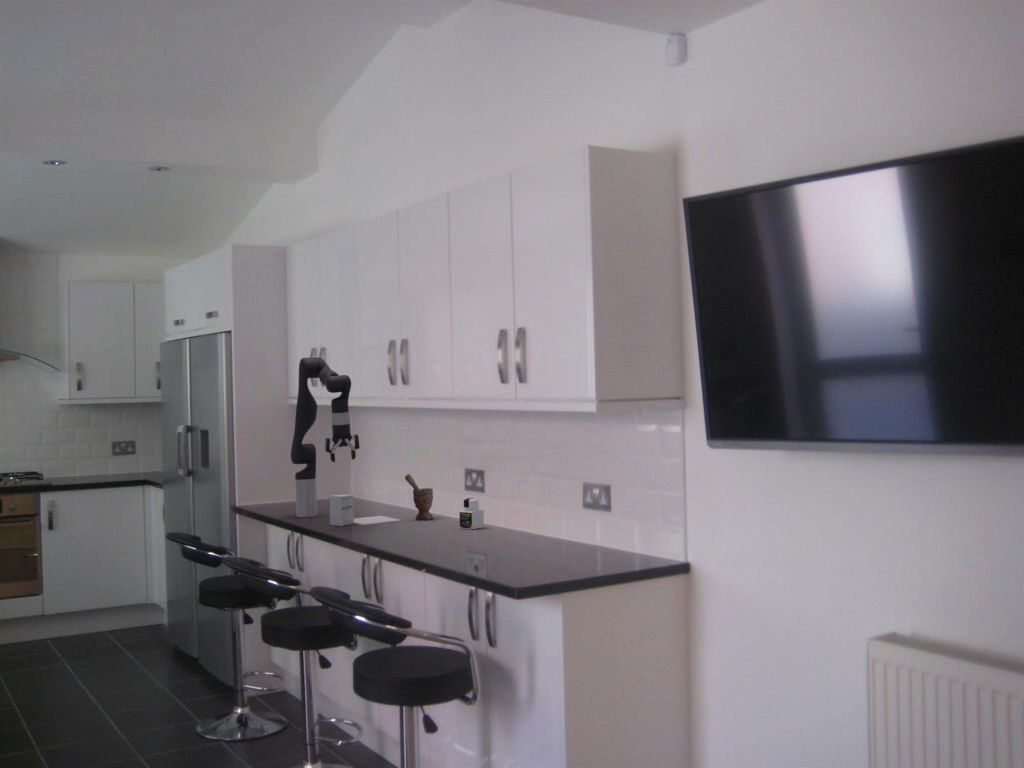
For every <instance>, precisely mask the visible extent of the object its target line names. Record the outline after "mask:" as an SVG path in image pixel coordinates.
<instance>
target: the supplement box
mask: <svg viewBox="0 0 1024 768" xmlns="http://www.w3.org/2000/svg"><path fill="white" fill-rule="evenodd" d="M354 514H355V512H354V494H334V495H329V524H330V526H334V527H335V526H337V527H343V526H349V525H353V524H354V519H355V516H354ZM354 525H355V524H354Z"/></svg>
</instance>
